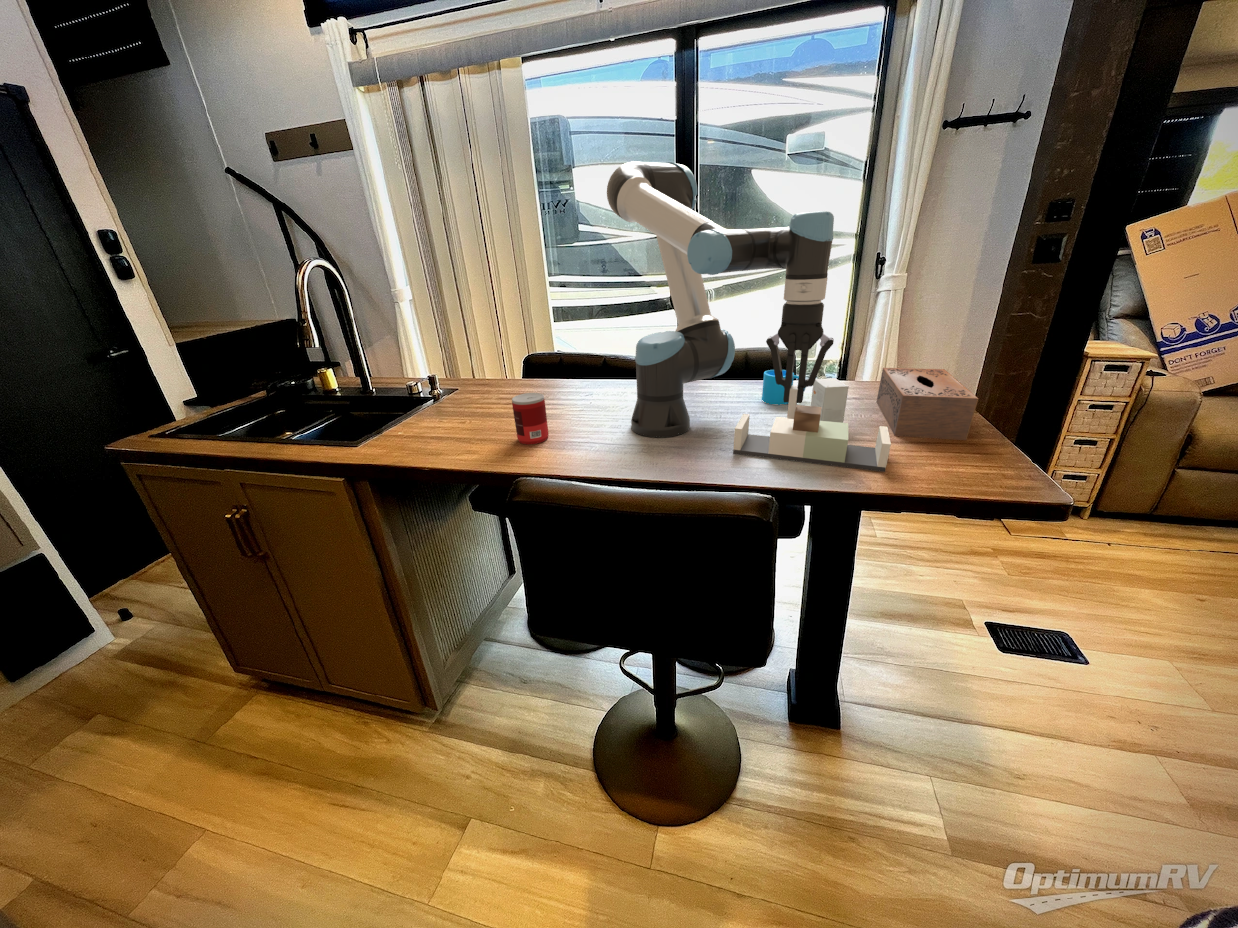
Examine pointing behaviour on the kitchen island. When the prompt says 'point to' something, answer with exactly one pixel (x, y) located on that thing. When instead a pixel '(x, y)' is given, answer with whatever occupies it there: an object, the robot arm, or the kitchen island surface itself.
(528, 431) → the canned food
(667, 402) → the robot arm
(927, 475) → the kitchen island surface
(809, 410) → the walnut block
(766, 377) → the mug
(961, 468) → the kitchen island surface
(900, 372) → the tissue box cover
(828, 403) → the small box
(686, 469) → the kitchen island surface
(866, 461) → the board
